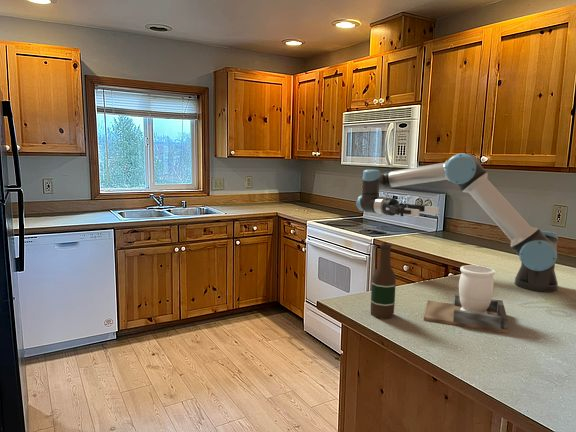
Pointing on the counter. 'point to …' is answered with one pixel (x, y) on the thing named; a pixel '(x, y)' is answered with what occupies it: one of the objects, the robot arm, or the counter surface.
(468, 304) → the jar
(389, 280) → the beer bottle
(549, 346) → the counter surface
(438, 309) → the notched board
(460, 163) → the robot arm
